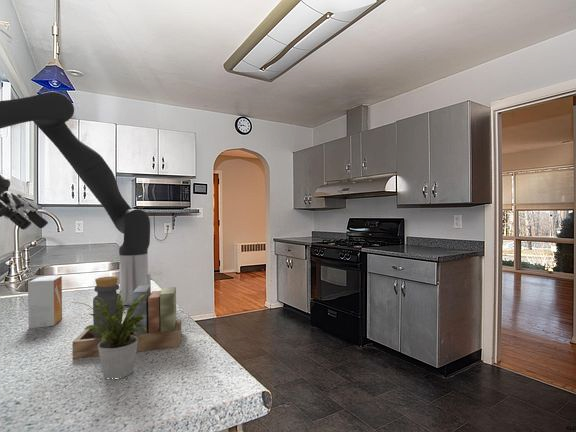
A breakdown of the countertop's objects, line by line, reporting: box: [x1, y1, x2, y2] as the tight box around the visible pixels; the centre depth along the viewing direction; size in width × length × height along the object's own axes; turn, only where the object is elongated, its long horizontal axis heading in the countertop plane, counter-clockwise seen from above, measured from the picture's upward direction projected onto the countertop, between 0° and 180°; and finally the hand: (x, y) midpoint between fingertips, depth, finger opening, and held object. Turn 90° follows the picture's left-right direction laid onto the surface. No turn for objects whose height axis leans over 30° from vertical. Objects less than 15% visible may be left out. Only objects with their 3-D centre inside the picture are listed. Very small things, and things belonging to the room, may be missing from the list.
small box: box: [27, 275, 63, 329], centre depth 98 cm, size 8×6×13 cm
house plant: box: [72, 290, 149, 379], centre depth 65 cm, size 14×14×16 cm
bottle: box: [92, 275, 123, 338], centre depth 79 cm, size 6×6×15 cm
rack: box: [71, 285, 182, 359], centre depth 81 cm, size 22×10×13 cm, turn 105°
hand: (36, 226), depth 81 cm, fingers open, 8 cm apart
